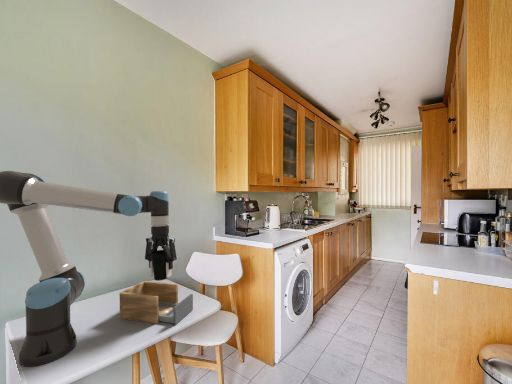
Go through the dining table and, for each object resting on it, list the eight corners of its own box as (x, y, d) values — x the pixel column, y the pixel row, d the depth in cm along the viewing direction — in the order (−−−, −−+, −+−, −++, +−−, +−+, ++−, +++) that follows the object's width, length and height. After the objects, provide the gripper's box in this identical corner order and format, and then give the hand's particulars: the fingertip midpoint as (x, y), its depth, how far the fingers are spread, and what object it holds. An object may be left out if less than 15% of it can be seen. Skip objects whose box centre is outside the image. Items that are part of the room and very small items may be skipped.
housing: (156, 323, 101) (156, 297, 101) (119, 318, 106) (119, 293, 106) (178, 307, 115) (177, 284, 115) (144, 303, 120) (144, 280, 120)
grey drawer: (175, 324, 99) (175, 307, 99) (139, 319, 104) (138, 302, 104) (192, 309, 112) (192, 294, 112) (159, 305, 117) (159, 290, 117)
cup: (163, 281, 104) (163, 254, 105) (148, 281, 106) (147, 253, 106) (173, 275, 112) (172, 249, 112) (158, 275, 114) (158, 249, 114)
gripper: (184, 224, 110) (185, 274, 110) (146, 223, 116) (147, 271, 115) (174, 226, 103) (175, 280, 103) (135, 225, 108) (135, 277, 108)
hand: (160, 275), depth 109 cm, fingers closed on cup, 8 cm apart
